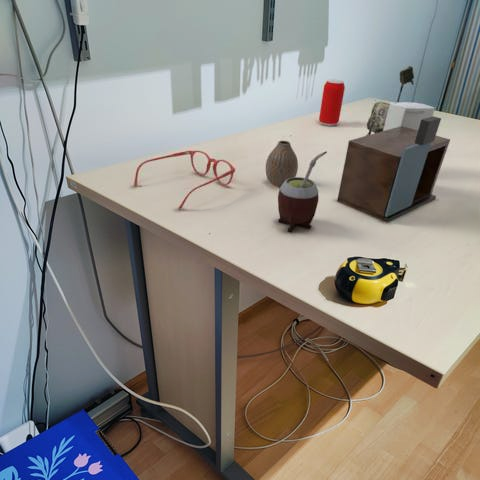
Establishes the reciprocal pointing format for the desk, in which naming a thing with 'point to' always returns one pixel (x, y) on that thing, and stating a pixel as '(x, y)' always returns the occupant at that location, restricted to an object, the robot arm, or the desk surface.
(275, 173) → the vase
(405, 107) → the cosmetic box
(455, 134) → the desk surface
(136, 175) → the red eyeglasses
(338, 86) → the beverage can
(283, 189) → the mate gourd
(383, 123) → the camouflage trail camera
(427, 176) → the cabinet
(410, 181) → the sliding door
